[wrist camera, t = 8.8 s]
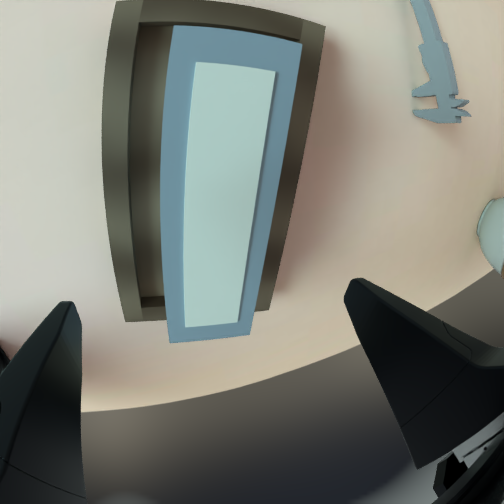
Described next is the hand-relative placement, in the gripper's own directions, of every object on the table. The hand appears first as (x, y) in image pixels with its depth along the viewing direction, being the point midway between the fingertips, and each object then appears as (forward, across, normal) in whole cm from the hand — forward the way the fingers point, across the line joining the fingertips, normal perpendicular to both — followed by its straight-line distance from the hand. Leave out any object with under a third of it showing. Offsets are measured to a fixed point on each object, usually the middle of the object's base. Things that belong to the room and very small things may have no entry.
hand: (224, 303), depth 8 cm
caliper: (+12, -16, -17) cm, 26 cm away
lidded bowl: (+12, -46, +2) cm, 47 cm away
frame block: (+11, -1, 0) cm, 11 cm away
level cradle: (+12, -1, 0) cm, 12 cm away
